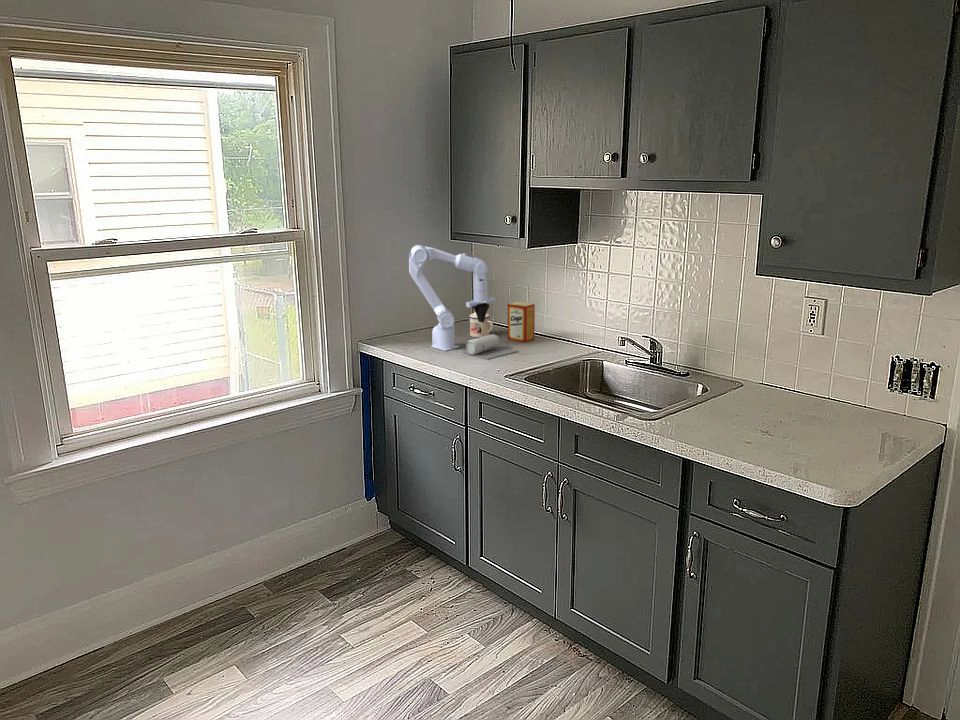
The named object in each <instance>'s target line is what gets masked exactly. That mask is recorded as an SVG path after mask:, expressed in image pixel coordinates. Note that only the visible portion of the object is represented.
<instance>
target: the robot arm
mask: <svg viewBox="0 0 960 720" xmlns="http://www.w3.org/2000/svg"><path fill="white" fill-rule="evenodd" d="M410 249H411V250H410V251H409V255H408V272H409V275H410V277H411V278H412V280H413V281H414V283H415V284H416V285H417V288H418V289H419V291H420V292H421V294H422V295H423V296H424V298H425V299H426V301H427V302H428V304H429V305H430V307H431V309H433V312H434V313H435V314H436V319H437V321H438V324H437V325H435V326H434V327H433V328H432V332H431V333H432V334H431V337H432V339H431V340H432V342H431V343H432V345H430V347H431V348H434V349H437V350H440V351H444V352H446V351H447V352H448V351H451V350H455V349H458V348H459V349H460V346H459V345H456V335H455V334H456V333H455V331H456V330H455V327H456V326H455V317H454V315H453V314H452V312H451V310H450V309H448V308H446V306H445V305H444V304H443V302H442V301H441V299H440V298H439V296H438V295H437V293H436V292H435V289H433V287H432V286H431V284H430V282H429V281H428V279H427V278H426V276H425V275H424V273H423V271H422V270H423V268H424V265H425V263H426V262H427V260H428V261H431V260H434V259H438V260H441V261H444V262H448V263H452V264H453V265H454V266H455V268H457V269H460V270H464V271H466V272H469V273H470V272H473V274H472V275H473V278H472V281H473V282H472V283H473V285H472V286H473V287H472V288H473V299H472V300H469V301H466V302H465V307H466V308H469V309H470V308H473V310H474V313H475V312H476V314H477V317H478V321H479V322H484V320H485V316H486V313H487V312H488V310H489V308H490V303H495V302H496V297H494V296H492V297H491V296H490V297H488V277H487V276H488V275H487V273H488V271H489V267H488V264H487V263H486V262H485V261H484V260H483V259H481V258H478V257H475V256H474V257H471V256H468V255H467V254H466V253H464V252H463V253H459V254H457V255H454V254H452V253H449V252H446V251H444V250H440V249H437V248H435V247H429V246H425V245H421V244H416V245H414V246H412V248H410Z"/></svg>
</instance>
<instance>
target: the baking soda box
mask: <svg viewBox="0 0 960 720" xmlns="http://www.w3.org/2000/svg"><path fill="white" fill-rule="evenodd" d="M535 306H536V304H535V303H530V302H522V301H514V302H510V303H509V302H508V303H507V340H510V341H513V342H519V343H525V344H526V343H529V342H532V341H534V340H535V313H536V312H535V309H536V308H535Z"/></svg>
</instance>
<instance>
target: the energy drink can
mask: <svg viewBox="0 0 960 720" xmlns="http://www.w3.org/2000/svg"><path fill="white" fill-rule="evenodd" d="M500 345H501V339H500V337H499V335H496V334H494V333H492V334H490V335H487V336H483V337H475V338H472V339H469V340H468V341H467V343H466V345H465V346H466V351H468V352H469V353H470V354H472V355H474V354H478V353H481V352H485V351H488V350H492V349H495V348H497V347H498V346H500ZM472 355H471V356H472Z"/></svg>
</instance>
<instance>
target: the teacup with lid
mask: <svg viewBox="0 0 960 720" xmlns="http://www.w3.org/2000/svg"><path fill="white" fill-rule="evenodd" d="M468 317H469V334H470V336H471V337H473V338H480V337H483V336H487V335H491V334H490V332H492V331H493V329H494V323H493V322H492V320H490V318H491V316H490V314H489V313H487V312H486V316H485V320H484V322H479V321H478V317H477V314H476V312H475V311H474V312H473V313H471V314H470V315H469V316H468Z"/></svg>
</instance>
